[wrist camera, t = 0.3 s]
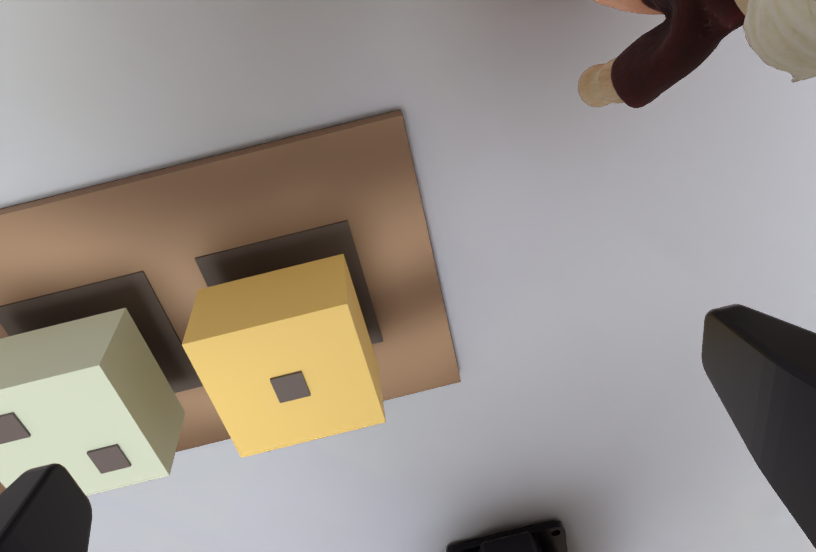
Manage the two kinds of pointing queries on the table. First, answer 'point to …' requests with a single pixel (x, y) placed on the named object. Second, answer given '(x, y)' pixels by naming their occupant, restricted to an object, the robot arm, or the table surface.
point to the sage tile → (86, 404)
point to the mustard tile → (286, 356)
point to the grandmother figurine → (700, 45)
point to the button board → (238, 251)
